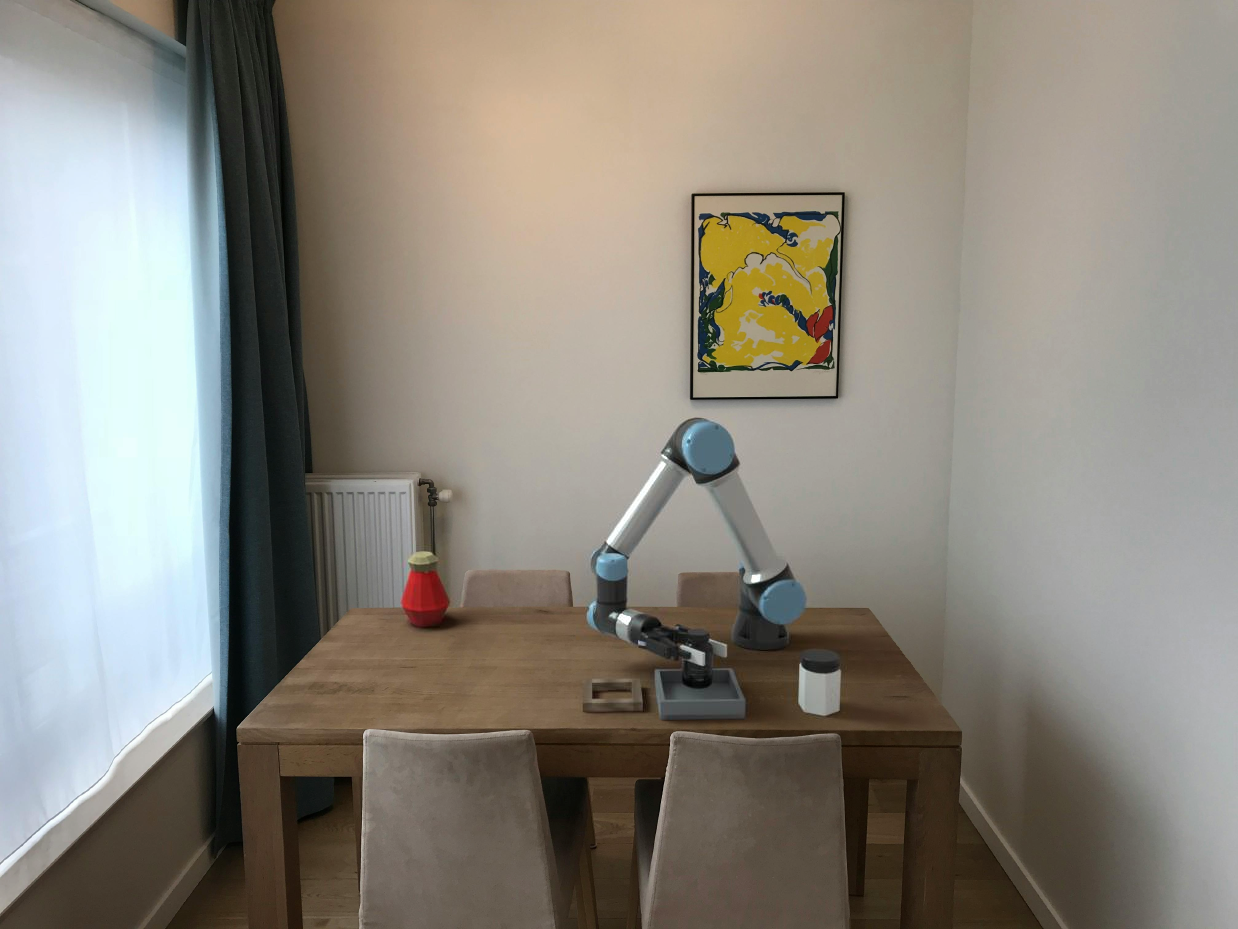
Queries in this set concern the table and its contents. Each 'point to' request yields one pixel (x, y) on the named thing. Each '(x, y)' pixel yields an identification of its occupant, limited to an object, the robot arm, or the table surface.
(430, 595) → the bottle
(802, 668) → the jar
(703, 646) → the supplement bottle
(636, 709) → the socket collar
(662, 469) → the robot arm
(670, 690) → the bin
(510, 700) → the table surface
